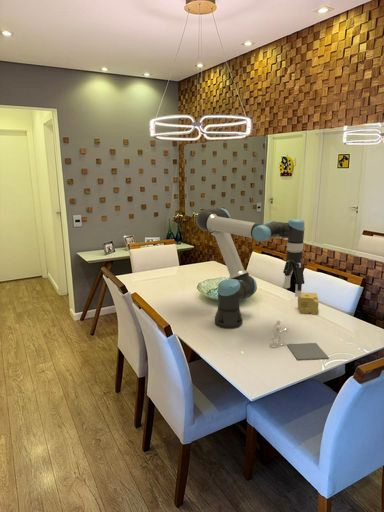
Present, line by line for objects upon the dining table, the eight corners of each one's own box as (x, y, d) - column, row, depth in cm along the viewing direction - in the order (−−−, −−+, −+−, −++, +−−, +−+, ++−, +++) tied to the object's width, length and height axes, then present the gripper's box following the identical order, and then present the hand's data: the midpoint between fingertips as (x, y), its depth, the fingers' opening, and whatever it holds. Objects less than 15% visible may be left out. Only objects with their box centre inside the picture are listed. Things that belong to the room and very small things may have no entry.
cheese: (318, 315, 201) (319, 298, 199) (298, 313, 204) (299, 297, 201) (315, 308, 211) (316, 292, 209) (297, 307, 213) (298, 291, 211)
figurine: (267, 345, 166) (268, 321, 163) (280, 340, 171) (281, 317, 169) (274, 349, 162) (275, 325, 160) (288, 343, 167) (289, 320, 165)
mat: (297, 360, 152) (297, 359, 152) (286, 345, 166) (286, 344, 166) (328, 358, 153) (329, 357, 153) (315, 344, 167) (315, 342, 167)
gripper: (313, 256, 162) (310, 300, 166) (291, 245, 186) (289, 284, 190) (298, 256, 161) (295, 300, 165) (278, 246, 185) (276, 284, 190)
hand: (292, 292), depth 178 cm, fingers open, 13 cm apart
